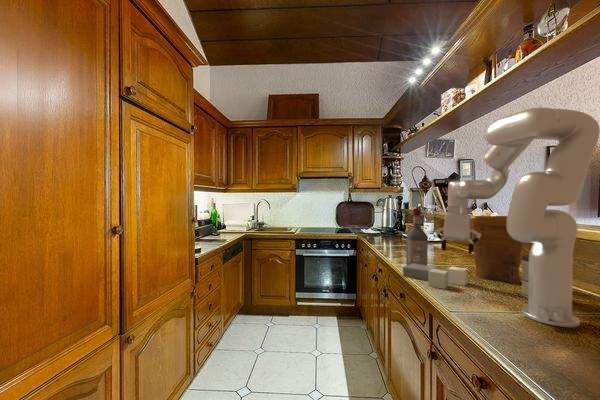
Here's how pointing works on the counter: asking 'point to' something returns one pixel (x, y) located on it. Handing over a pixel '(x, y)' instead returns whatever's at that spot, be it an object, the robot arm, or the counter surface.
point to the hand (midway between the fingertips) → (456, 251)
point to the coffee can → (525, 276)
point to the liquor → (416, 242)
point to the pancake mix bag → (496, 250)
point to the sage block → (438, 278)
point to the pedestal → (417, 271)
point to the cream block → (457, 276)
